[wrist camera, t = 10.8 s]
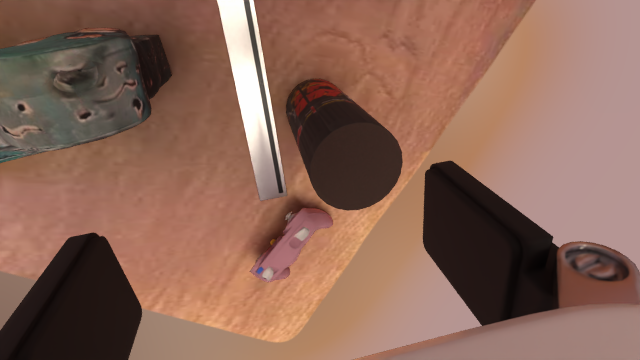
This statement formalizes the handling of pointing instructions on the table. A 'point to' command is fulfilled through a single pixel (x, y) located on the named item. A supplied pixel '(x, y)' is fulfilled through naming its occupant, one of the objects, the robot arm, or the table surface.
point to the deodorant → (342, 146)
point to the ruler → (253, 94)
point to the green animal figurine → (76, 88)
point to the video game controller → (290, 244)
